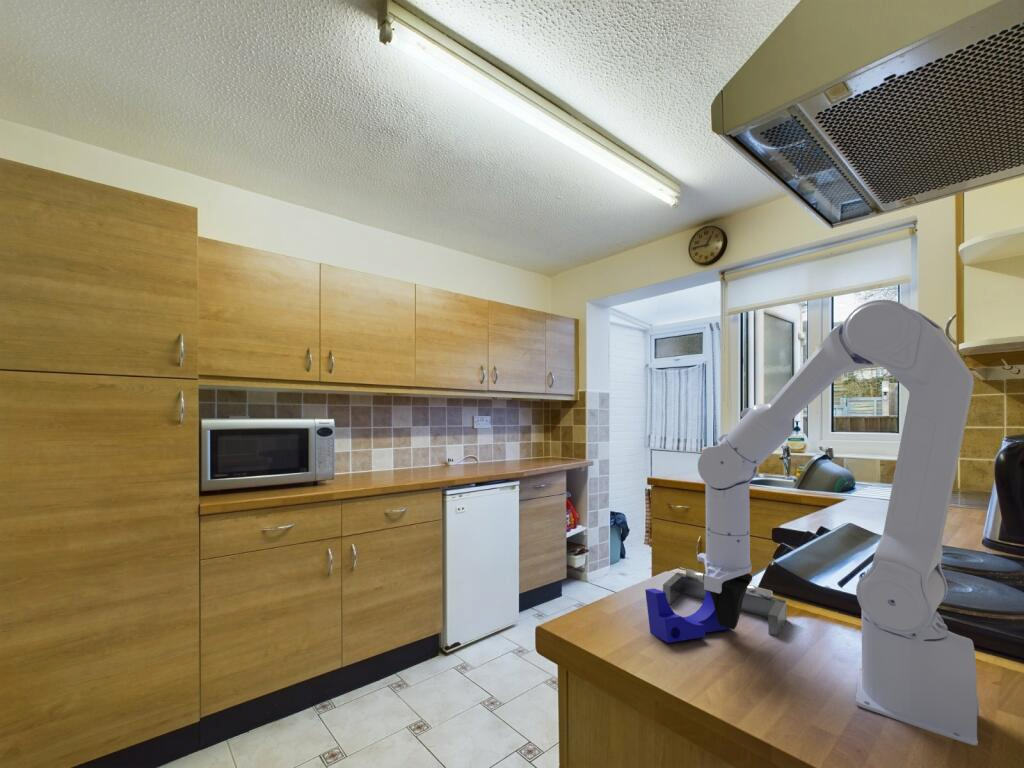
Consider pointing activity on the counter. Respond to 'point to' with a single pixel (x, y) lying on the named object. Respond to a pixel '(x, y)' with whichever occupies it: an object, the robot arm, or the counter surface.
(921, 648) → the robot arm
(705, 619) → the blue pipe saddle
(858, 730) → the counter surface
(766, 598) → the hinge bracket
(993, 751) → the counter surface
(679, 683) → the counter surface
